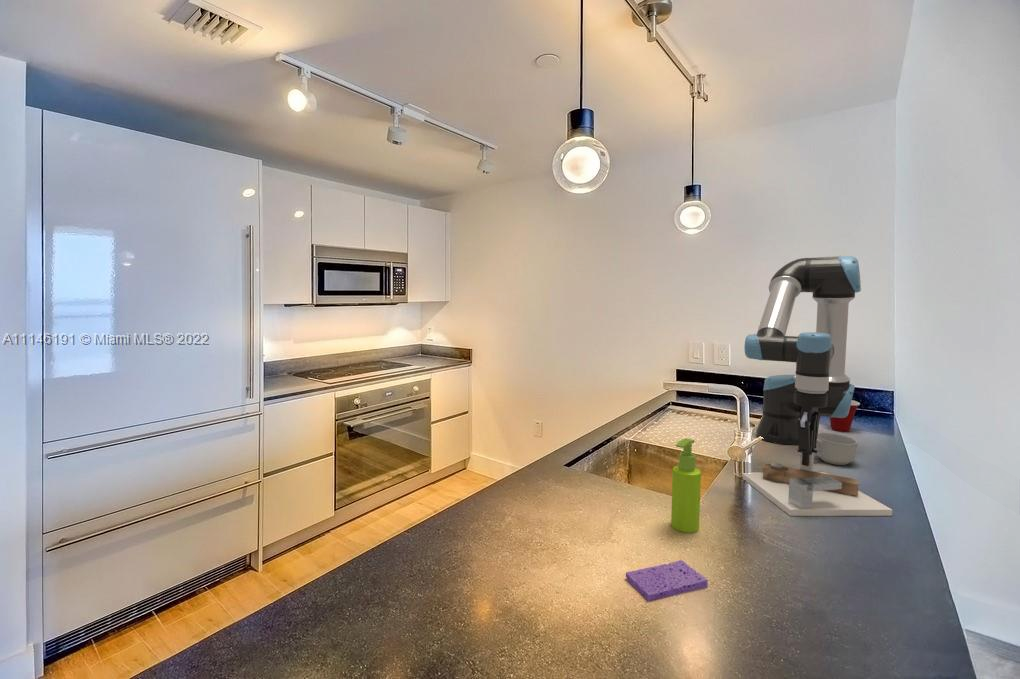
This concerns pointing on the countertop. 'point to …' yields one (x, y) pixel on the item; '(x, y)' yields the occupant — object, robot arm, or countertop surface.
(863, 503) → the base board
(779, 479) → the latch
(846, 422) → the plastic cup
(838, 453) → the teacup
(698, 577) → the sponges
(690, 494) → the soap dispenser
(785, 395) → the robot arm
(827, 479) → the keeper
